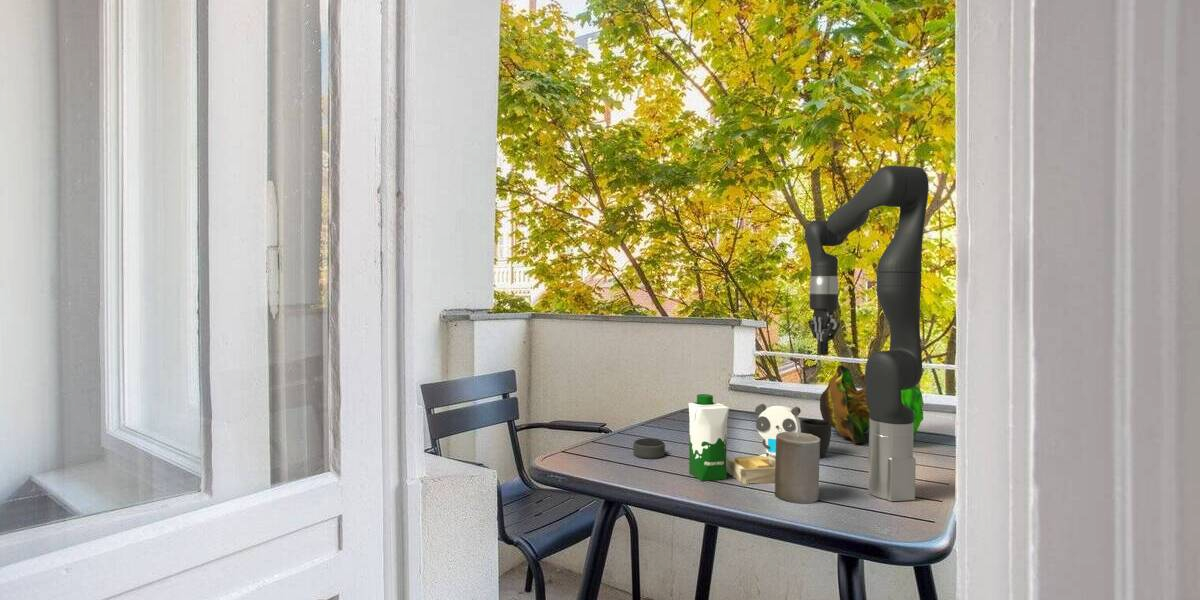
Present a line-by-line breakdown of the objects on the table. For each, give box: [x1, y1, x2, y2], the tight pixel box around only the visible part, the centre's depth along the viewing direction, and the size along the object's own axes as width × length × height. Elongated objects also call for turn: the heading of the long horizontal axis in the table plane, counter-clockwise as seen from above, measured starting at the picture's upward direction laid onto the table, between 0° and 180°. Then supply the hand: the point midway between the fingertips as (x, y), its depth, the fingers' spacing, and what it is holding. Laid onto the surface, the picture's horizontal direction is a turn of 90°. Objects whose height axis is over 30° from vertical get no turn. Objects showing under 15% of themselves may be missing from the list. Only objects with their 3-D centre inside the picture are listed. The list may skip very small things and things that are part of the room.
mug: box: [799, 418, 832, 459], centre depth 175 cm, size 8×12×10 cm
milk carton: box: [688, 393, 730, 482], centre depth 153 cm, size 9×9×20 cm
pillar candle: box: [774, 431, 821, 505], centre depth 138 cm, size 10×10×15 cm
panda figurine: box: [754, 403, 802, 459], centre depth 167 cm, size 12×11×15 cm
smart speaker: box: [632, 438, 666, 460], centre depth 172 cm, size 9×9×4 cm
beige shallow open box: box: [726, 456, 775, 485], centre depth 153 cm, size 11×12×4 cm
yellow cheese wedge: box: [733, 455, 769, 469], centre depth 153 cm, size 8×8×4 cm
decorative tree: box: [819, 364, 925, 445], centre depth 191 cm, size 27×28×30 cm
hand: (822, 354), depth 169 cm, fingers closed
